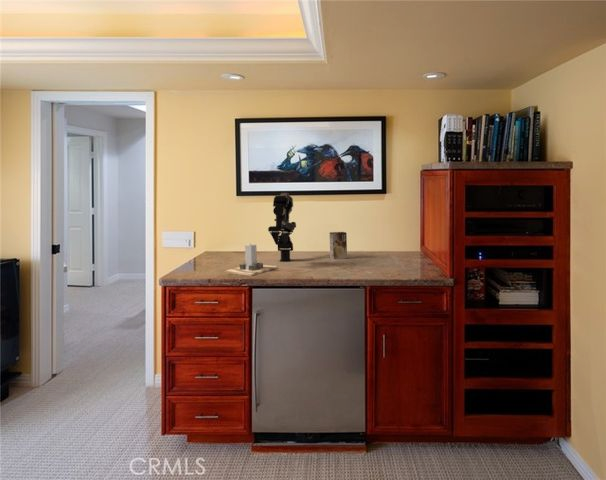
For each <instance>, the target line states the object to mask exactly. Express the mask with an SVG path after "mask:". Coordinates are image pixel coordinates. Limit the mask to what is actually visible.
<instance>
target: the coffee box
mask: <svg viewBox="0 0 606 480" xmlns="http://www.w3.org/2000/svg"><path fill="white" fill-rule="evenodd" d="M347 238H348V237H347V232H345V231H334V232H333V231H332V232H329V258H330V259H332V260H344V259H348V245H347V243H348V242H347Z"/></svg>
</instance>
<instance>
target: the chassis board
mask: <svg viewBox="0 0 606 480" xmlns="http://www.w3.org/2000/svg"><path fill="white" fill-rule="evenodd" d="M278 267H279V266H278V265H270V264H269V265H268V264H264V263H263V262H257V264H256V265H252V266H251V265H249V270H246V262H244V263H241V264H239V266H238V267H235V268H229V269H227V270H224V271H223V272H224V273H225V274H231V275H232V274H233V275H242V276H249V277H252V276H255V275H258V274H262V273H265V272H269V271H272V270H276V269H278Z"/></svg>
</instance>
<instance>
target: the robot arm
mask: <svg viewBox="0 0 606 480" xmlns="http://www.w3.org/2000/svg"><path fill="white" fill-rule="evenodd" d="M272 207H273V210H272V212H273V214H274V215H275V218H274V222H275V225H273V226H272V225H271V226H269V227H268V229H267V230H268V232H269V234H270V235H271V237H272V239H273V242H274V243H275V245H277V252H280V259H279V262H291V261H292V258H291V252H293V251H294V244H293V242H292V239H291V236H290V235H292V233H294V230H295V228H297V223H296V222H295V221H292V222H290V214H291V212H292V211H293V208H294V199H293V197H292V196H290V193H289V192H281V193H280V195H279V194H277V195H275V196H274V198H273V203H272Z"/></svg>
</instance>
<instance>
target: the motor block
mask: <svg viewBox="0 0 606 480" xmlns="http://www.w3.org/2000/svg"><path fill="white" fill-rule="evenodd" d="M257 253H258V251H257V244H252V243H247V244H245V245H244V256H245V258H244V259H245V263H246V270H249V265H251V266H252V265H256V264H257V263H258V259H257V258H258V256H257V255H258V254H257Z"/></svg>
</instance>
